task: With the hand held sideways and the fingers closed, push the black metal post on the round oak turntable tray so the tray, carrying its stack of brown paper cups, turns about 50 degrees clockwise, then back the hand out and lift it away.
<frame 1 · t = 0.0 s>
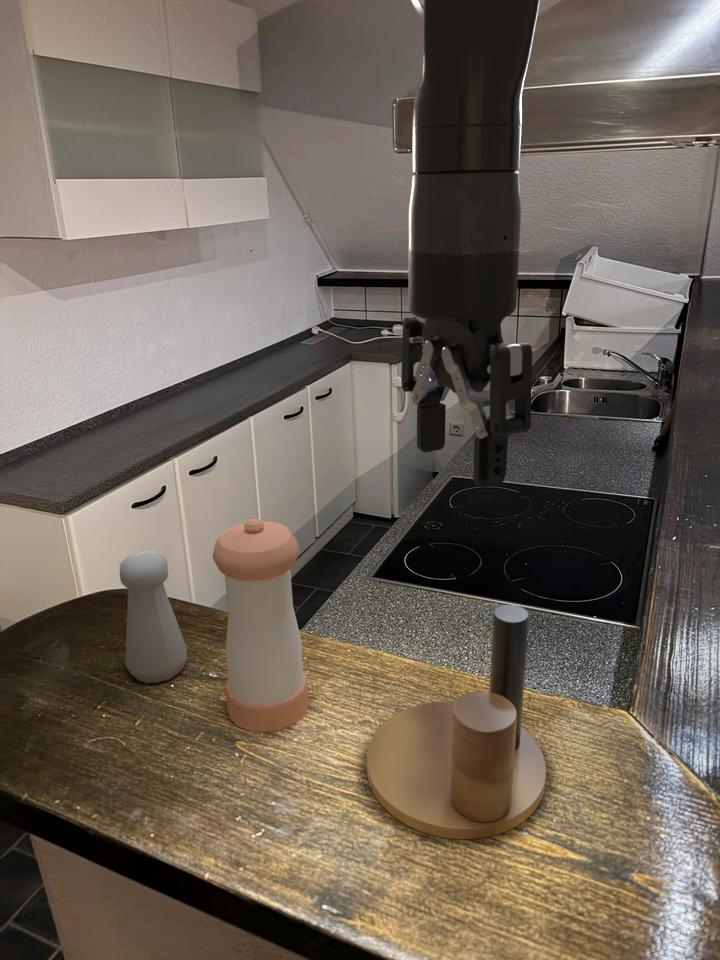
hand: (457, 466, 58), 24 cm above the countertop, tool pointing down, fingers open, 8 cm apart
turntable: (457, 700, 58), point 8 cm above the countertop, hinge at 0.0°
salt shaker: (159, 678, 74), on the countertop
pepper shaker: (269, 715, 69), on the countertop
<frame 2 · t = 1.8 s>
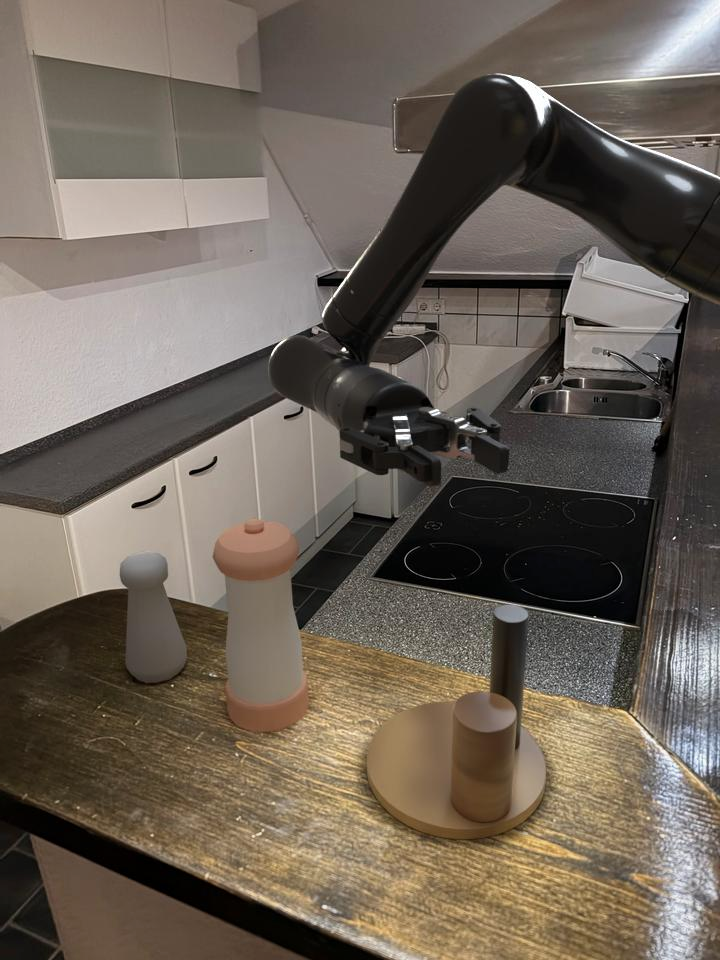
hand: (471, 467, 58), 24 cm above the countertop, tool horizontal, fingers open, 5 cm apart
nothing on the countertop moved.
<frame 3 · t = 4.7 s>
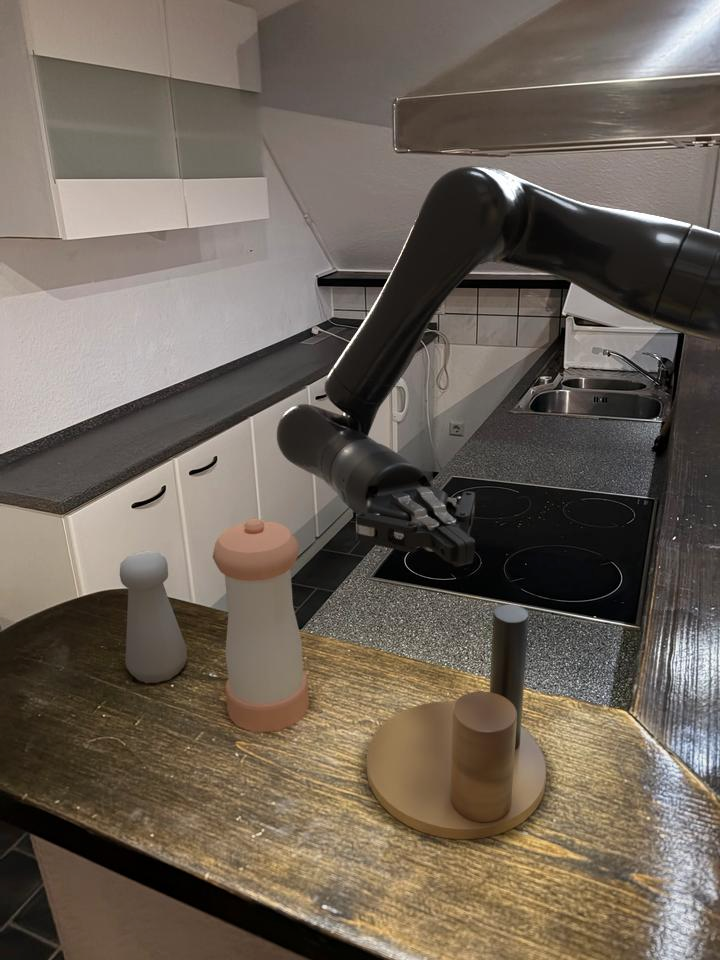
hand: (466, 555, 64), 15 cm above the countertop, tool horizontal, fingers closed
nothing on the countertop moved.
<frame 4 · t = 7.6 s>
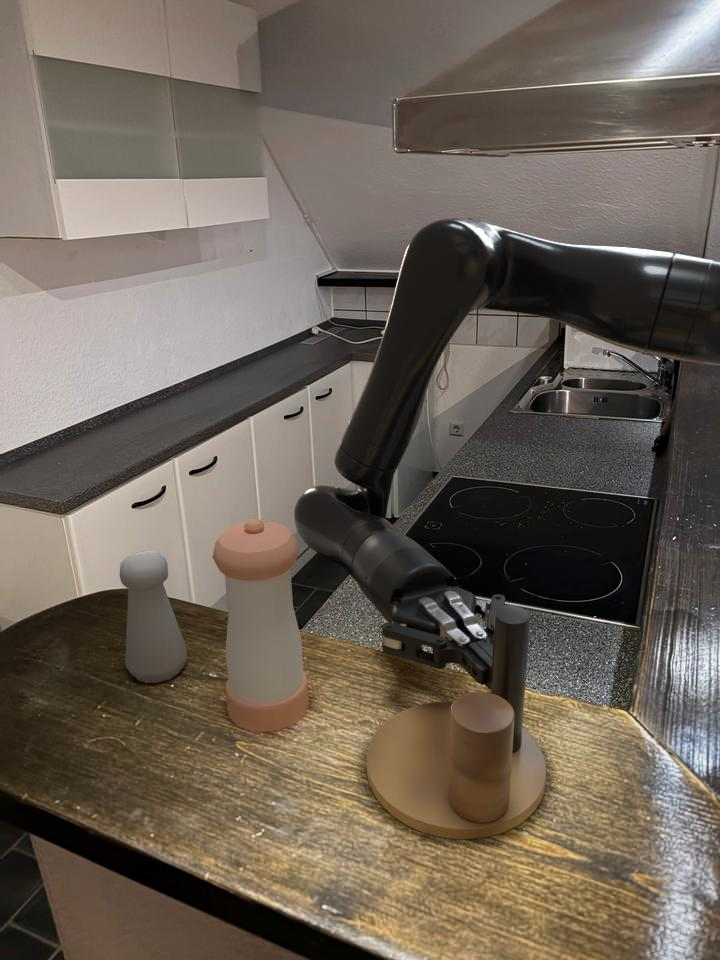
hand: (499, 677, 61), 7 cm above the countertop, tool horizontal, fingers closed
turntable: (457, 700, 58), point 8 cm above the countertop, hinge at 2.3°, touching gripper
everything else where it was.
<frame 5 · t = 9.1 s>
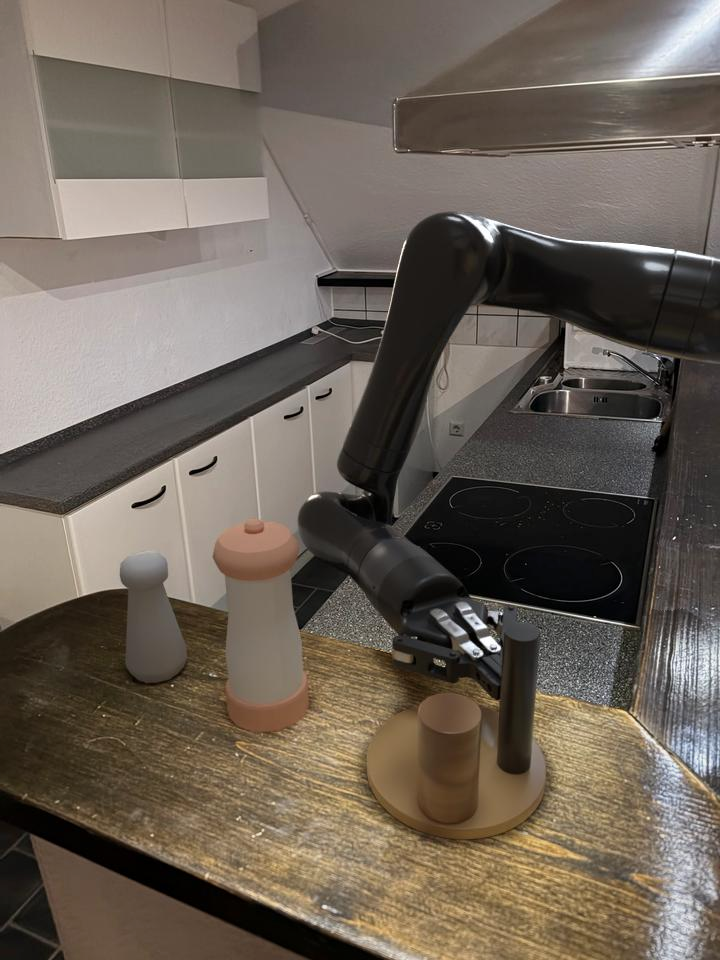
hand: (515, 693, 59), 7 cm above the countertop, tool horizontal, fingers closed
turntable: (457, 700, 58), point 8 cm above the countertop, hinge at 31.5°, touching gripper
everything else where it was.
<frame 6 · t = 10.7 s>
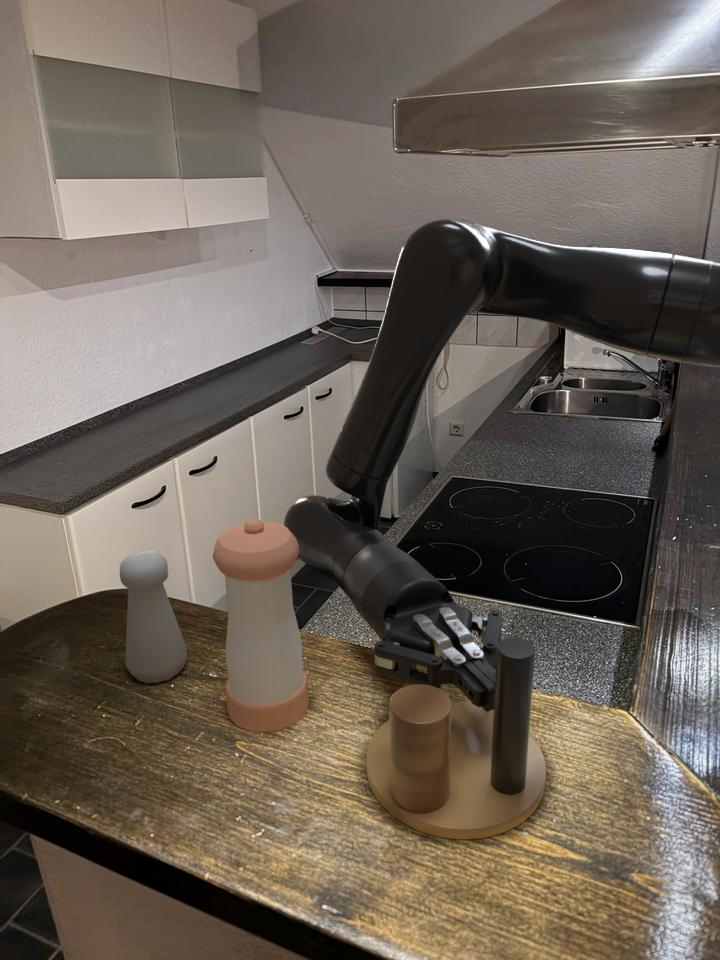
hand: (497, 699, 58), 8 cm above the countertop, tool horizontal, fingers closed
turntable: (457, 700, 58), point 8 cm above the countertop, hinge at 59.9°
everything else where it was.
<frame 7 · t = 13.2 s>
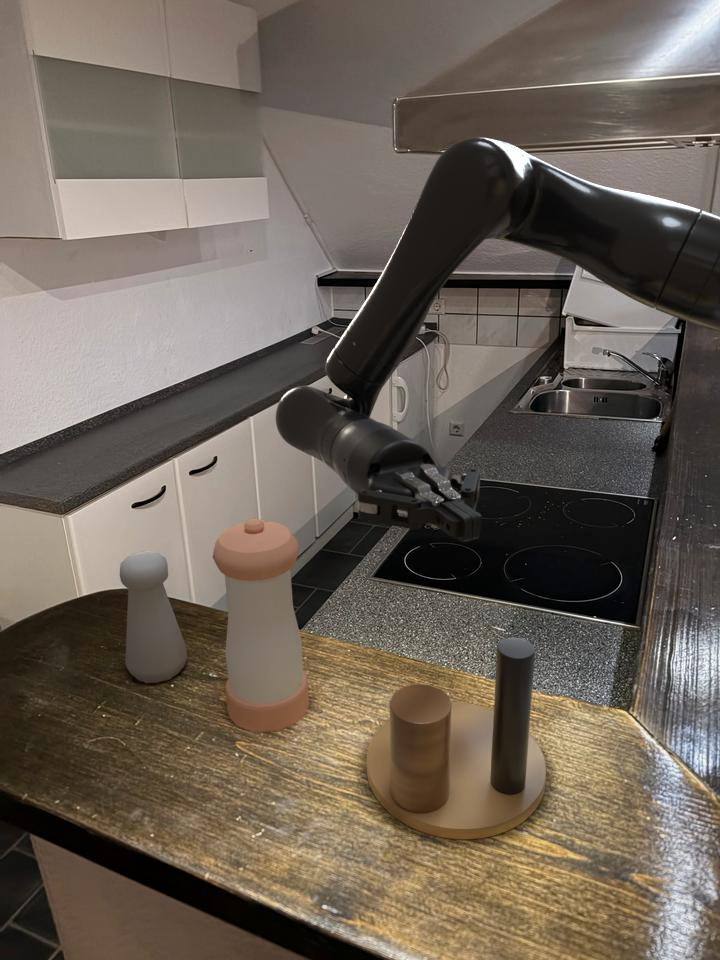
hand: (472, 529, 61), 18 cm above the countertop, tool horizontal, fingers closed
nothing on the countertop moved.
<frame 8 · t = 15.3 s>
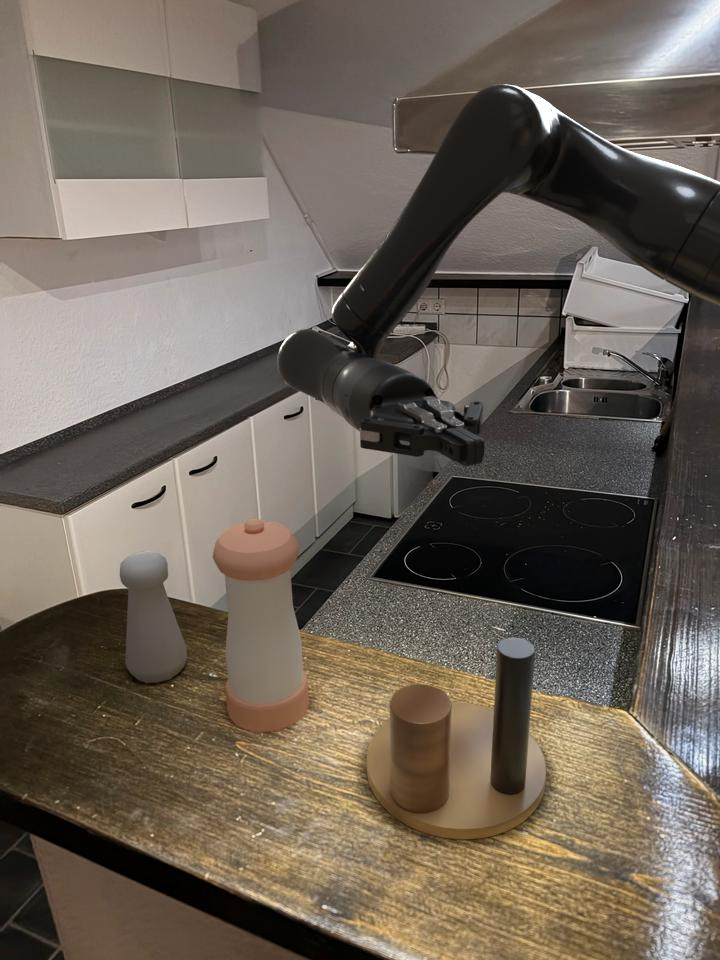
hand: (475, 453, 61), 24 cm above the countertop, tool horizontal, fingers closed
nothing on the countertop moved.
at the end: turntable at +60° (first picture: +0°); salt shaker moved 0.2 cm from its start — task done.
